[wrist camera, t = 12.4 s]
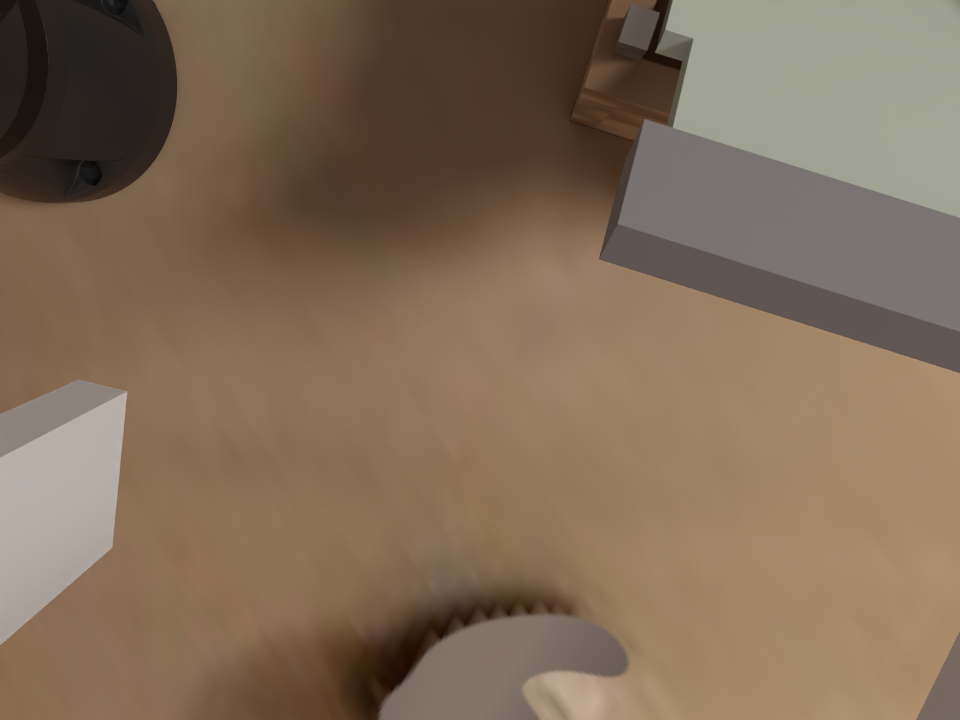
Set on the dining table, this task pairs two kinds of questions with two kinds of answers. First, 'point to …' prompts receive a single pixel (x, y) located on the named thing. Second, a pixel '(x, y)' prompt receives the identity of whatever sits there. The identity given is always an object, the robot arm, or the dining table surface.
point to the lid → (807, 167)
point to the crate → (627, 71)
